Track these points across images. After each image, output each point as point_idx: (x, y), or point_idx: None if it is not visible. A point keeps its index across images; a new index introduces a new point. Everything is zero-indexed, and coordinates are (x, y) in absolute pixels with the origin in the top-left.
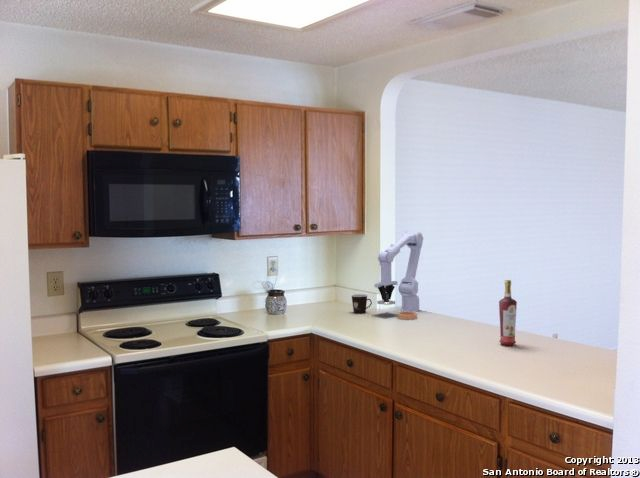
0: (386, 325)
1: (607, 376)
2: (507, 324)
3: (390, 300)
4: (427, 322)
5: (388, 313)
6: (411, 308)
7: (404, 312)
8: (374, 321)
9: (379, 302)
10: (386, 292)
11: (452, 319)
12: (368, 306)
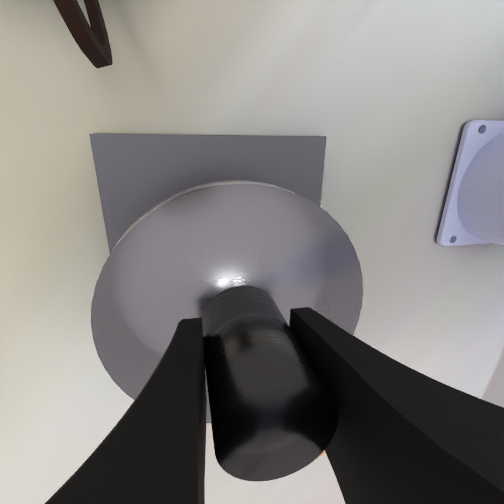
0: (25, 470)
1: None
2: None
3: (358, 268)
4: (292, 487)
5: (294, 189)
6: (499, 244)
7: None
8: (5, 338)
9: (93, 339)
10: (352, 369)
11: None
12: (87, 13)
